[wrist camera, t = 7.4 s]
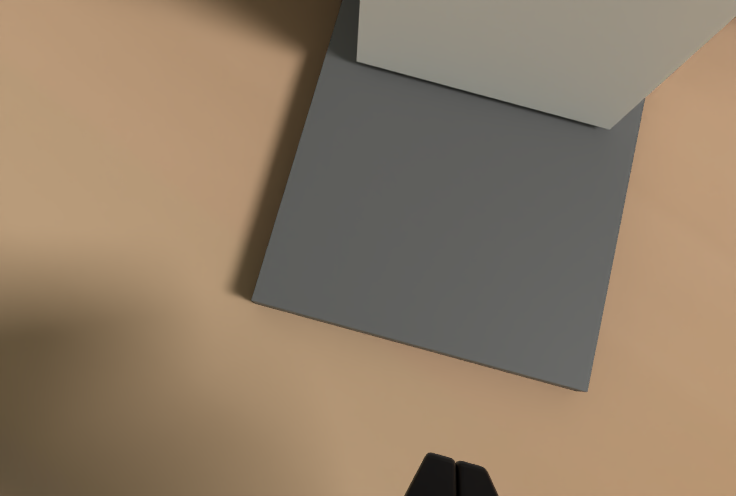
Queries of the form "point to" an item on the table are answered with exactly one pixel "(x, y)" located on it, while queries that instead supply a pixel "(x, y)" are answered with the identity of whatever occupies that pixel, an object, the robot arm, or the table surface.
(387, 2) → the block
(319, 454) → the table surface
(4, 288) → the table surface
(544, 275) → the grey block
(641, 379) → the table surface
